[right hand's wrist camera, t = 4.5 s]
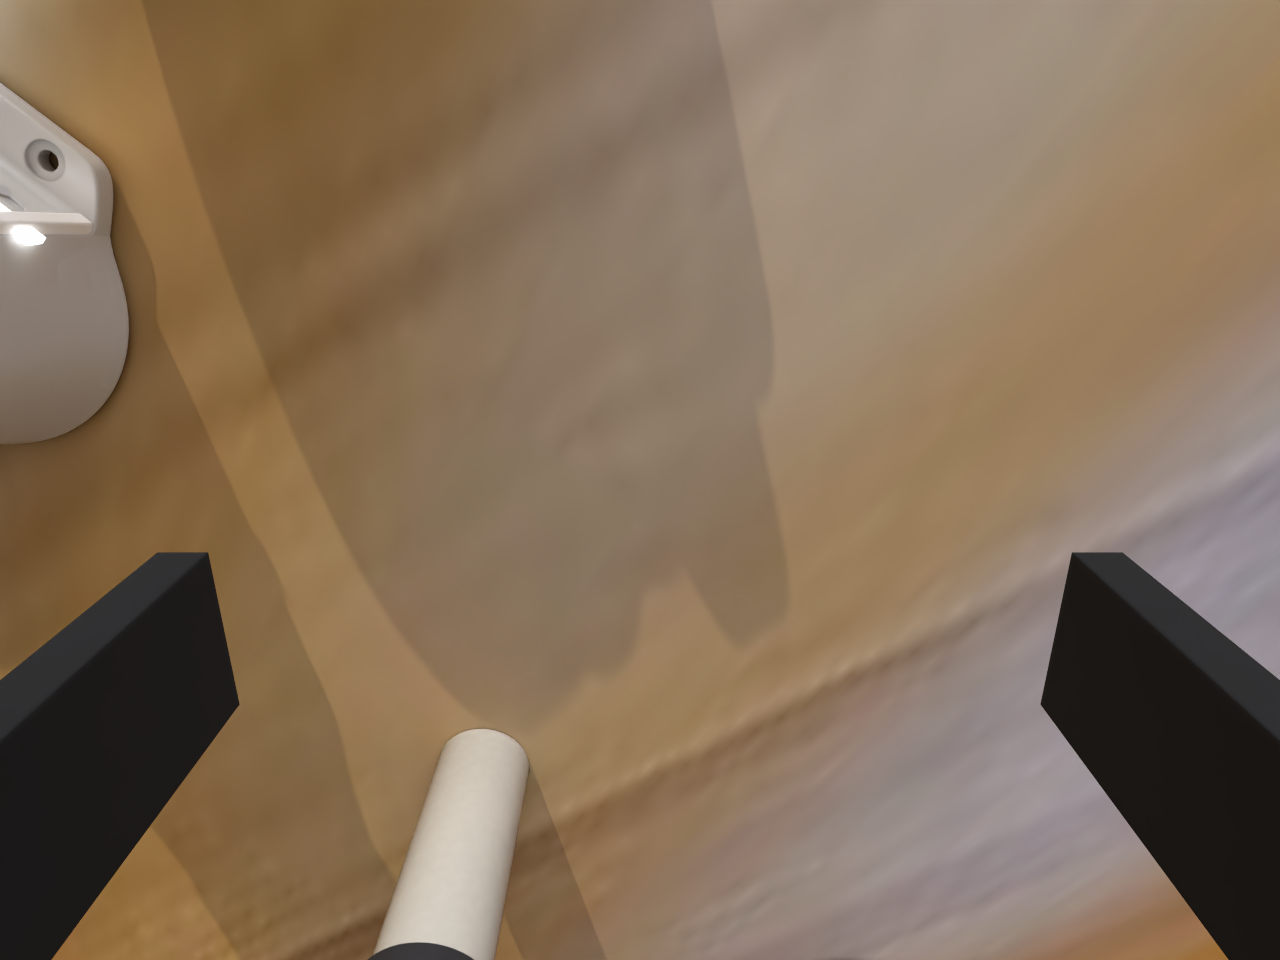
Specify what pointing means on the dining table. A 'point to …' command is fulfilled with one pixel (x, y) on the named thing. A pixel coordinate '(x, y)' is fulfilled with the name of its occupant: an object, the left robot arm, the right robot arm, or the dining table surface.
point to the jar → (462, 848)
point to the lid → (420, 952)
